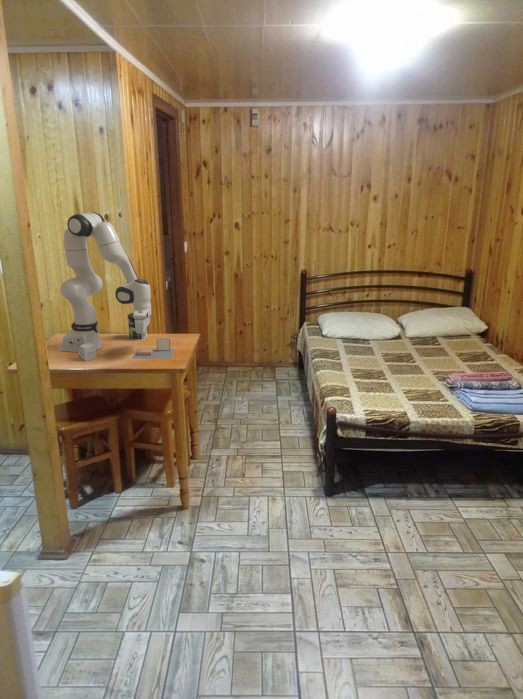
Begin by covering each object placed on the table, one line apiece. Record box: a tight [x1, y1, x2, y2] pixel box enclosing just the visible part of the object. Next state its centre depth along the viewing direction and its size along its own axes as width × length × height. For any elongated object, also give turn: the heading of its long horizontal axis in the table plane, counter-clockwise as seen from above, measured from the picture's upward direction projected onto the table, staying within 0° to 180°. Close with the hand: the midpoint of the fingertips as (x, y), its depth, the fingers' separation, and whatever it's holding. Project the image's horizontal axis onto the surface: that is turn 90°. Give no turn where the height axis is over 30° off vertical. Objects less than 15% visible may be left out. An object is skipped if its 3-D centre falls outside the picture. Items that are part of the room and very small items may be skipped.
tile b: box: [156, 337, 172, 351], centre depth 263 cm, size 7×2×7 cm, turn 92°
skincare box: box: [79, 343, 97, 362], centre depth 251 cm, size 6×6×7 cm
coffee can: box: [127, 312, 148, 341], centre depth 283 cm, size 10×10×14 cm
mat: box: [131, 348, 176, 360], centre depth 259 cm, size 20×16×1 cm
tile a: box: [138, 347, 154, 355], centre depth 259 cm, size 7×2×7 cm
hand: (143, 336), depth 258 cm, fingers closed
